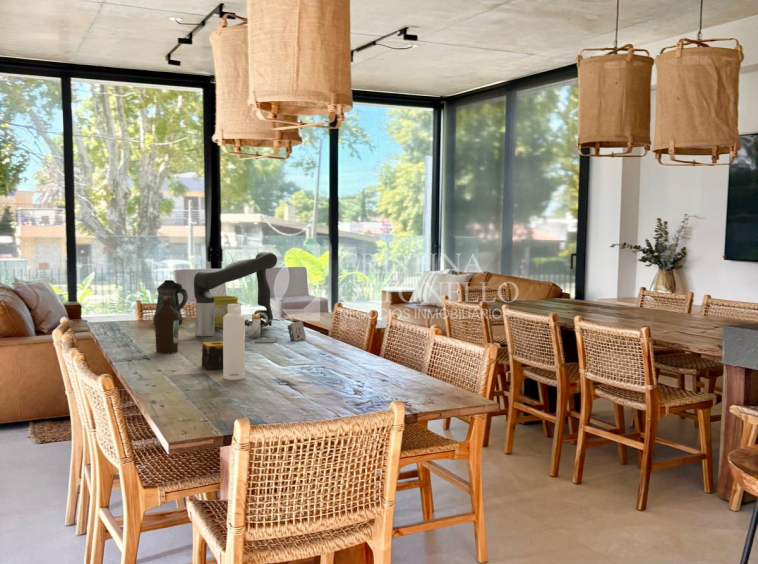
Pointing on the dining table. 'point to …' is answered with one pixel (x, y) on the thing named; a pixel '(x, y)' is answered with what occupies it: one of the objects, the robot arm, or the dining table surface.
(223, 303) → the flowerpot
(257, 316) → the canister
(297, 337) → the electrical switch
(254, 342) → the mat
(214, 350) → the yellow black spotted box
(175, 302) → the beer stein
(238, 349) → the bottle
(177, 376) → the dining table surface
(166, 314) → the olive oil
